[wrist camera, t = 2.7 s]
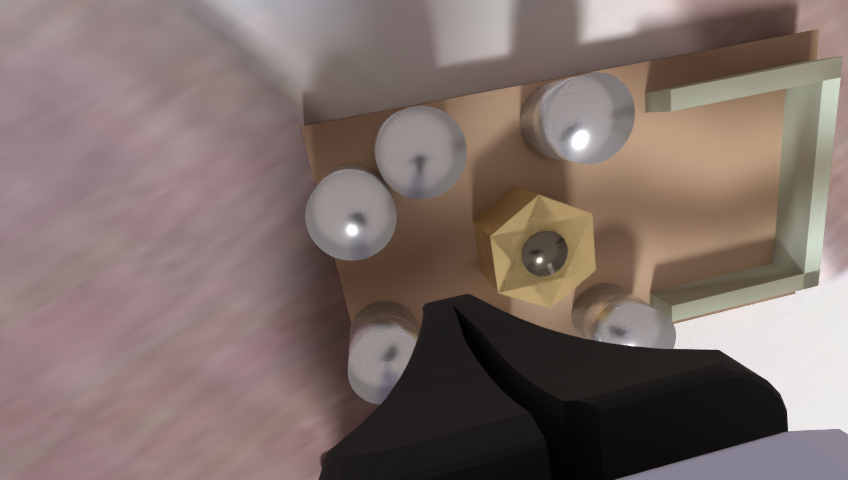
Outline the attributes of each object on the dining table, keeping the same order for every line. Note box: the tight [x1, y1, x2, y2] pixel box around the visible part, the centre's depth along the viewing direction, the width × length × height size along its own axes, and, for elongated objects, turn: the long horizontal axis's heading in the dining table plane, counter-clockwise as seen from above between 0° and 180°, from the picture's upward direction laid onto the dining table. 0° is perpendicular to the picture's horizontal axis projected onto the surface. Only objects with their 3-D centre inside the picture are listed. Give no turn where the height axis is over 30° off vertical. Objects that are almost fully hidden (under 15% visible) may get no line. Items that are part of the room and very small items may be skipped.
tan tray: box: [300, 29, 843, 338], centre depth 18 cm, size 12×22×3 cm, turn 100°
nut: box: [473, 185, 596, 308], centre depth 17 cm, size 4×5×3 cm
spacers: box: [305, 72, 676, 405], centre depth 16 cm, size 12×13×3 cm
